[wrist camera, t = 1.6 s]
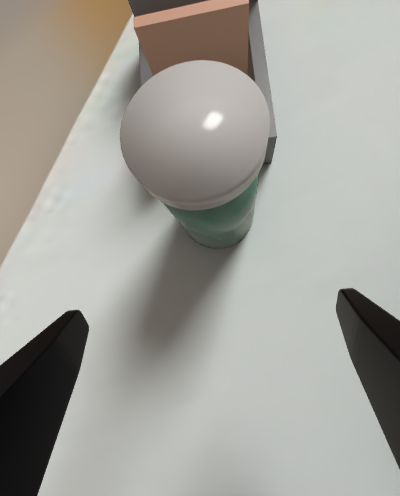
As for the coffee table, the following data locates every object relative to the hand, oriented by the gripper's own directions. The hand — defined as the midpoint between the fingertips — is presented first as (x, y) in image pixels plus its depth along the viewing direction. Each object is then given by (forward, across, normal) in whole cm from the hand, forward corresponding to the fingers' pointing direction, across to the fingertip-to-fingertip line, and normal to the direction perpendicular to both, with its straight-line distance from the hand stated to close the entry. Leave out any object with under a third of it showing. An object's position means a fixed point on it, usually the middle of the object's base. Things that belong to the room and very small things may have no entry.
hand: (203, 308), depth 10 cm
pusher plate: (+21, 0, -3) cm, 21 cm away
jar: (+15, 0, +4) cm, 15 cm away
